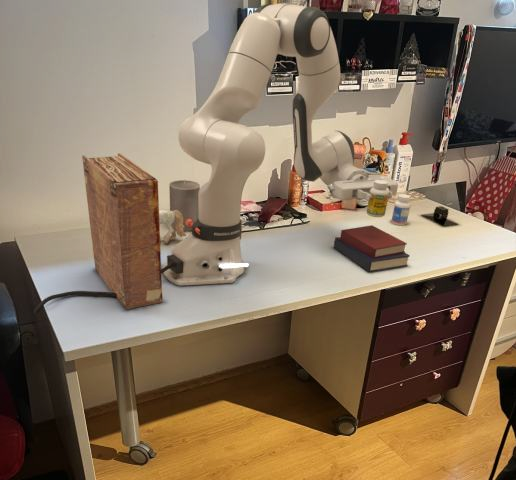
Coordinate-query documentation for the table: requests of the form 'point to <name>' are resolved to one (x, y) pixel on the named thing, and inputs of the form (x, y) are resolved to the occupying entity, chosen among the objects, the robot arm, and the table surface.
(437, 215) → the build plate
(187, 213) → the pillar candle
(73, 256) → the table surface
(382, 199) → the supplement bottle
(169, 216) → the unicorn figurine
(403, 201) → the pill bottle
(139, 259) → the book
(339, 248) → the book stack
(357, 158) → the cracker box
